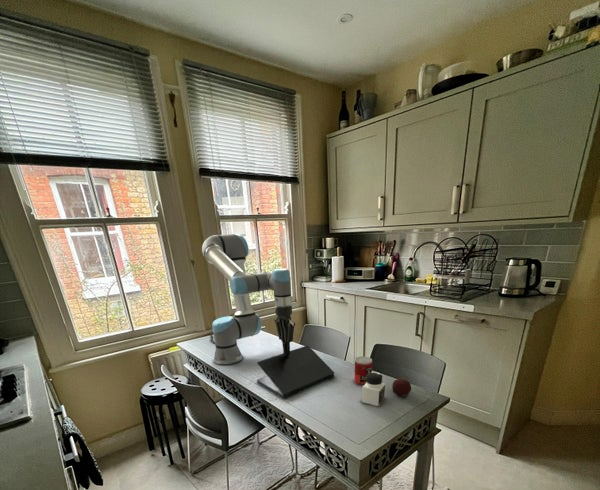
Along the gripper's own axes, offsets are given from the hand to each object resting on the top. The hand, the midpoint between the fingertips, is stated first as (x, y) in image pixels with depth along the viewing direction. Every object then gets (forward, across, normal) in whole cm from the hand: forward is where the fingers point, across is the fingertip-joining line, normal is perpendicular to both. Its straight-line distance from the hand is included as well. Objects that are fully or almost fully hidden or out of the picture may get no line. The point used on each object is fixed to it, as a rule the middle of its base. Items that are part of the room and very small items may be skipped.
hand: (286, 355), depth 149 cm
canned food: (+12, +29, +21) cm, 38 cm away
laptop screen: (+5, +7, 0) cm, 8 cm away
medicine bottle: (+12, +43, +11) cm, 46 cm away
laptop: (+11, +6, 0) cm, 13 cm away
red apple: (+12, +48, +23) cm, 54 cm away
